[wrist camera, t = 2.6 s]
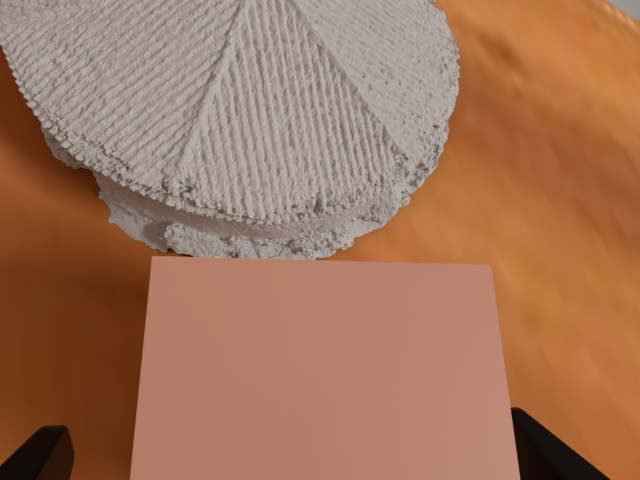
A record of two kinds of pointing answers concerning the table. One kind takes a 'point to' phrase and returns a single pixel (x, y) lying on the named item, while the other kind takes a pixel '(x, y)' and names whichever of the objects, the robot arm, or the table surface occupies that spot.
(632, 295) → the table surface
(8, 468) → the robot arm
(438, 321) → the tall brick
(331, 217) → the grey round stone disc
